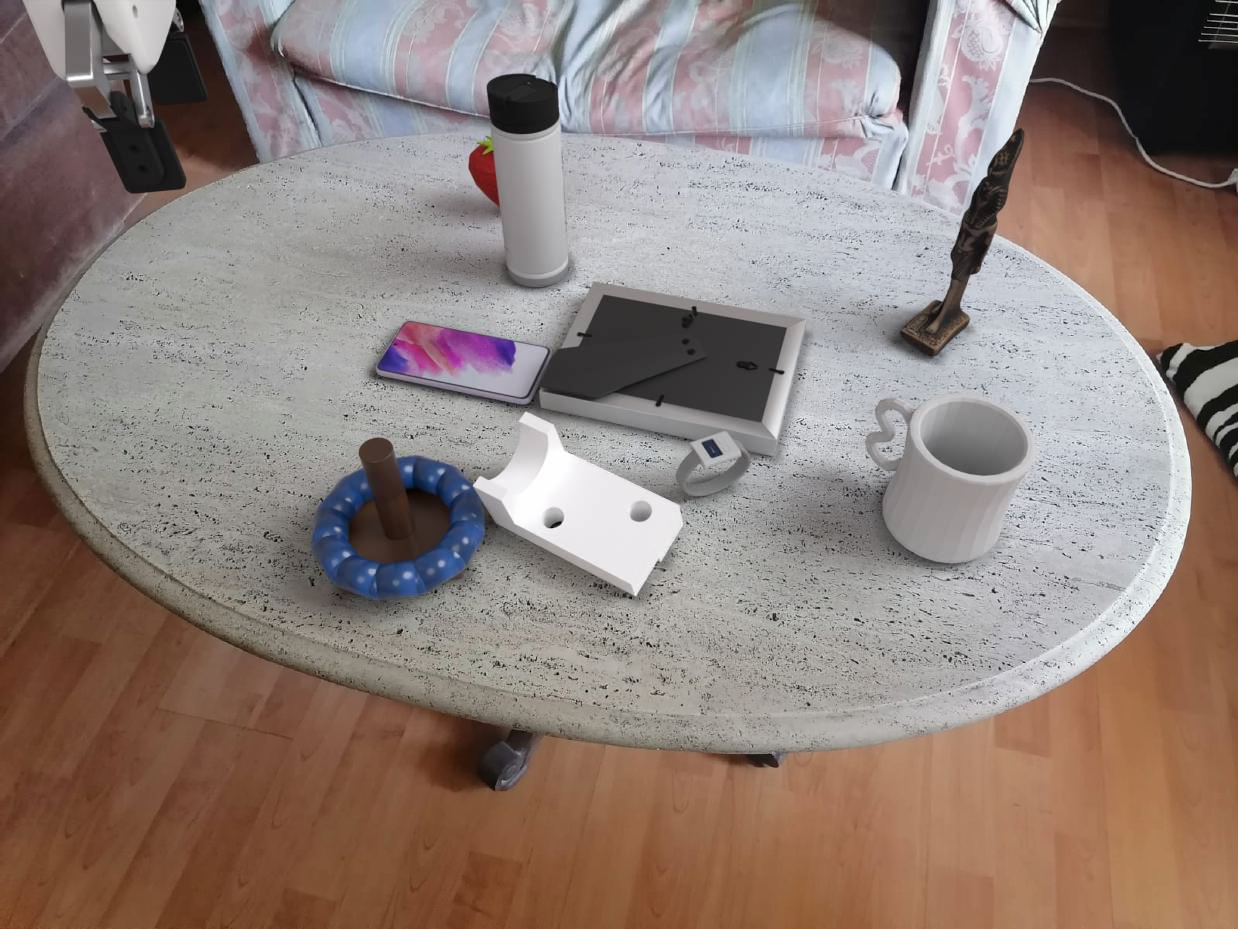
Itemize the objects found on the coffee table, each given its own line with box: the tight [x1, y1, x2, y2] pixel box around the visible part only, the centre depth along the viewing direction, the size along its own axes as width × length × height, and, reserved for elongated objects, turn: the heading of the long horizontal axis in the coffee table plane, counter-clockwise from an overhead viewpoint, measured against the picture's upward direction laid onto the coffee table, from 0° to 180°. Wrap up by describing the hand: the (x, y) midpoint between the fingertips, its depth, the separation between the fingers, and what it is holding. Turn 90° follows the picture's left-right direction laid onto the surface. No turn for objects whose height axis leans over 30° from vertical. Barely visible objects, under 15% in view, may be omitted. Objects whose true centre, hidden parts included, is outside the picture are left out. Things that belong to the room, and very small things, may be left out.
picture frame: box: [538, 280, 808, 457], centre depth 86 cm, size 16×3×21 cm
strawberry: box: [467, 135, 500, 209], centre depth 100 cm, size 6×8×10 cm
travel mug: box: [485, 72, 570, 288], centre depth 89 cm, size 6×7×20 cm
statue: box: [899, 127, 1026, 357], centre depth 82 cm, size 4×7×20 cm, turn 137°
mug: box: [864, 392, 1038, 564], centre depth 72 cm, size 12×9×10 cm
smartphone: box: [375, 320, 553, 405], centre depth 87 cm, size 7×1×15 cm
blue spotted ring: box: [311, 454, 486, 602], centre depth 72 cm, size 13×13×3 cm
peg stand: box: [339, 436, 464, 595], centre depth 70 cm, size 9×9×10 cm
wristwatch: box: [675, 431, 752, 497], centre depth 76 cm, size 6×3×5 cm, turn 114°
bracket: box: [473, 411, 684, 597], centre depth 72 cm, size 13×7×8 cm, turn 58°
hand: (171, 142), depth 56 cm, fingers open, 9 cm apart
